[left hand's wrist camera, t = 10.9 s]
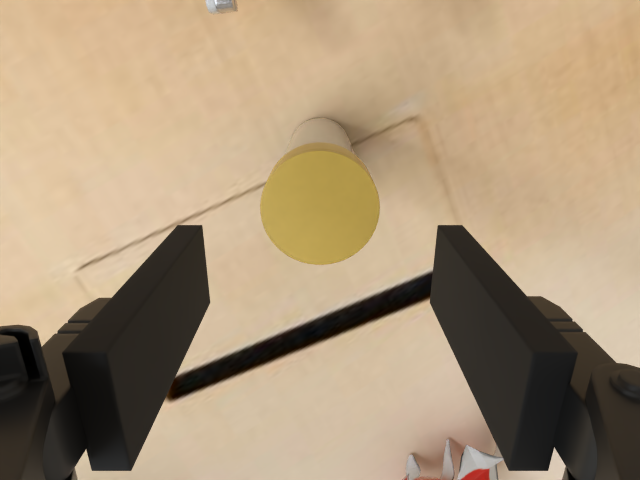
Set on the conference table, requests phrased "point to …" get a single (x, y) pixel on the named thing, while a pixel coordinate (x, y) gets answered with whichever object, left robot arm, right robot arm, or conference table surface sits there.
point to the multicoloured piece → (461, 466)
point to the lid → (319, 204)
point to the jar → (320, 134)
